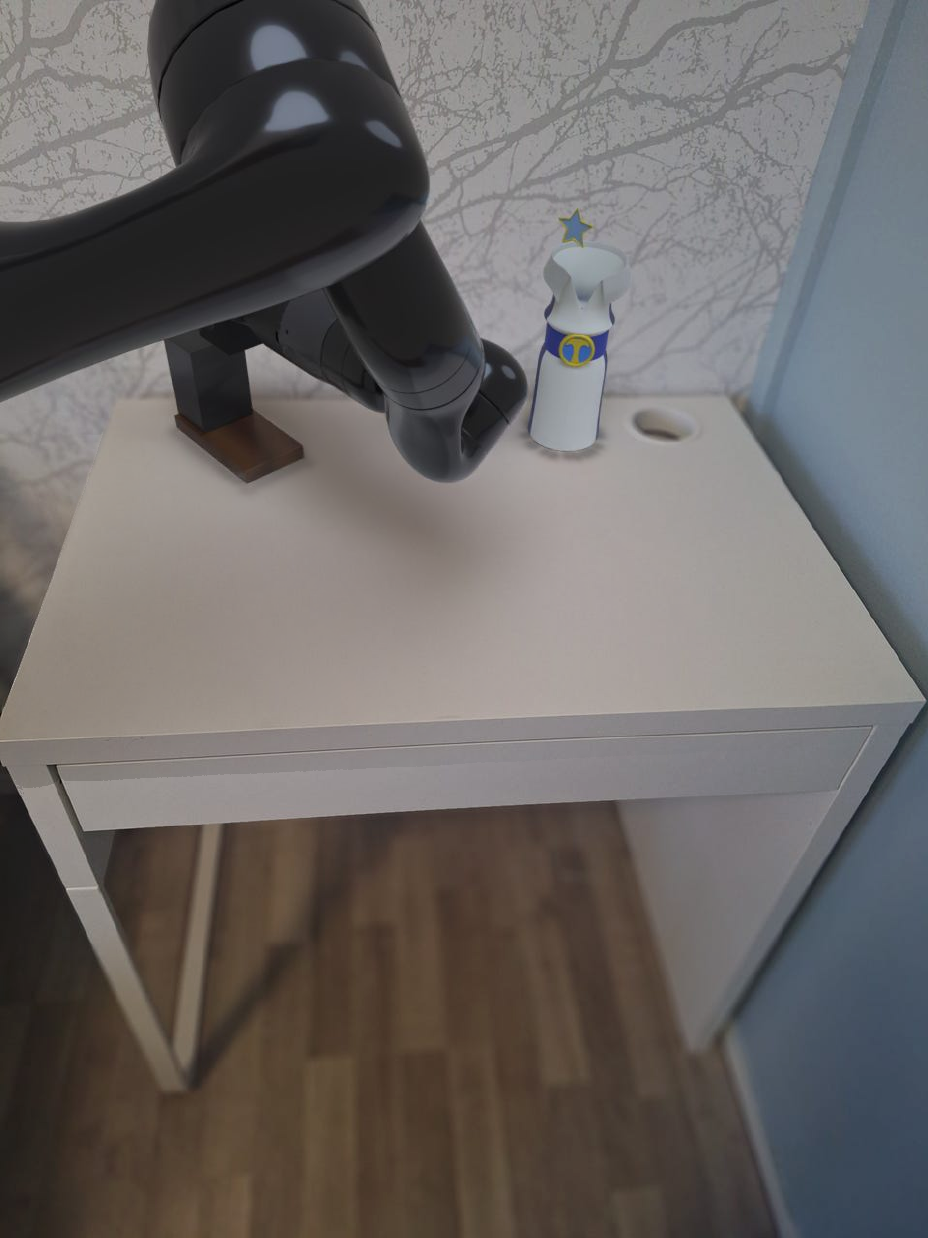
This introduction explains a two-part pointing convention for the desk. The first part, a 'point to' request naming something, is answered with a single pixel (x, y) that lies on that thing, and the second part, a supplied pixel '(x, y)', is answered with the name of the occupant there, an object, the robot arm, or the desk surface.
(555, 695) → the desk surface
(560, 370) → the white piece
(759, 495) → the desk surface
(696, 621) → the desk surface
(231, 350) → the black rectangular block
